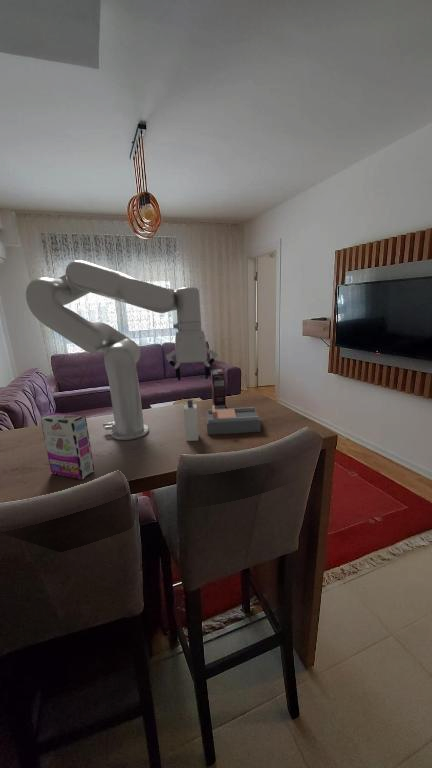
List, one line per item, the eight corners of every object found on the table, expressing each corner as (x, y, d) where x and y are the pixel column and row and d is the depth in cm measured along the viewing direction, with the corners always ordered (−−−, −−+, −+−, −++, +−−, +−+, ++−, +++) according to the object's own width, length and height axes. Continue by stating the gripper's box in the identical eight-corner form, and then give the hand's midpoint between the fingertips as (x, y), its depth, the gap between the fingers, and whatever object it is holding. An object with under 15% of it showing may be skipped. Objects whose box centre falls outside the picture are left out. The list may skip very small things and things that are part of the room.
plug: (186, 441, 103) (183, 403, 99) (186, 435, 107) (184, 399, 103) (198, 440, 103) (196, 402, 99) (198, 435, 107) (196, 398, 103)
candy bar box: (95, 471, 87) (86, 415, 83) (82, 480, 82) (72, 422, 78) (64, 465, 91) (54, 411, 87) (50, 474, 86) (38, 418, 82)
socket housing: (207, 434, 107) (206, 420, 105) (207, 422, 117) (206, 409, 116) (260, 431, 107) (260, 417, 106) (255, 419, 118) (255, 406, 116)
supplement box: (212, 405, 135) (210, 369, 131) (223, 405, 135) (222, 368, 131) (214, 412, 127) (212, 374, 122) (226, 412, 127) (224, 373, 123)
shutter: (212, 421, 107) (212, 412, 106) (212, 412, 115) (211, 404, 114) (236, 419, 107) (236, 411, 107) (234, 411, 115) (234, 403, 114)
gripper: (161, 329, 99) (166, 383, 103) (216, 326, 99) (219, 380, 104) (164, 327, 106) (168, 377, 111) (215, 324, 106) (218, 374, 111)
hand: (193, 378), depth 107 cm, fingers open, 8 cm apart
